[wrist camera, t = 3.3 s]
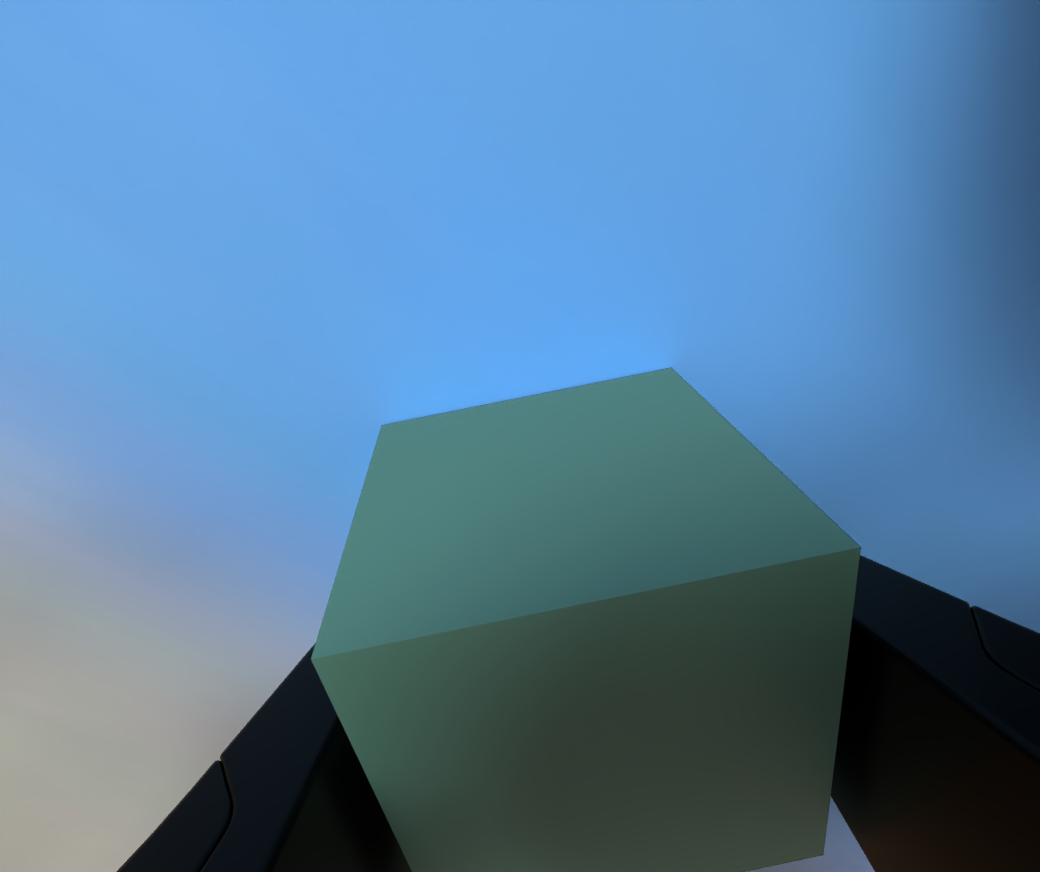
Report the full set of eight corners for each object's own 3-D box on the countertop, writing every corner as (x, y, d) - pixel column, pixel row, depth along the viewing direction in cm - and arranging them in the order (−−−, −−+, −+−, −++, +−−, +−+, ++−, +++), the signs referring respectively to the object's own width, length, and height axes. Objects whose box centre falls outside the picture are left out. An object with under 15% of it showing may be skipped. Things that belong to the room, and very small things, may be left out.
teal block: (671, 367, 9) (860, 546, 5) (683, 591, 11) (823, 855, 7) (381, 425, 9) (310, 658, 4) (448, 639, 10) (442, 935, 6)
